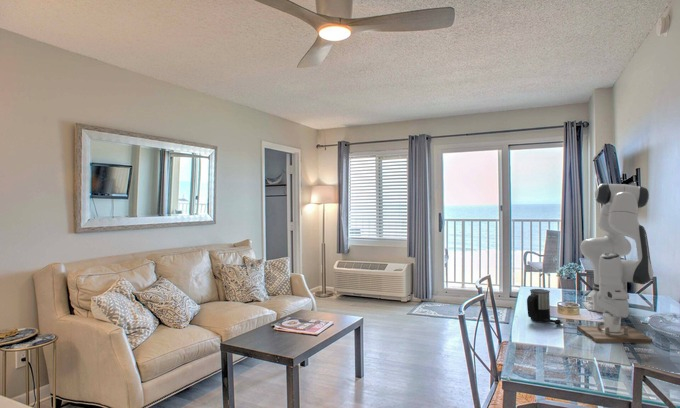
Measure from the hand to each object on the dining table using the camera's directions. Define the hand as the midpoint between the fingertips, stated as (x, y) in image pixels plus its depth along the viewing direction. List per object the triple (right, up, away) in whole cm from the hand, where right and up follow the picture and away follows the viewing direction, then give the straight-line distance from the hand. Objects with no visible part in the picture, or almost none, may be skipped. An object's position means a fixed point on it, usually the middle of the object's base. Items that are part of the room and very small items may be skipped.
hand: (612, 322), depth 182 cm
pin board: (0, -6, 0) cm, 6 cm away
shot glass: (0, -4, 0) cm, 4 cm away
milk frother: (-18, -7, +23) cm, 29 cm away
